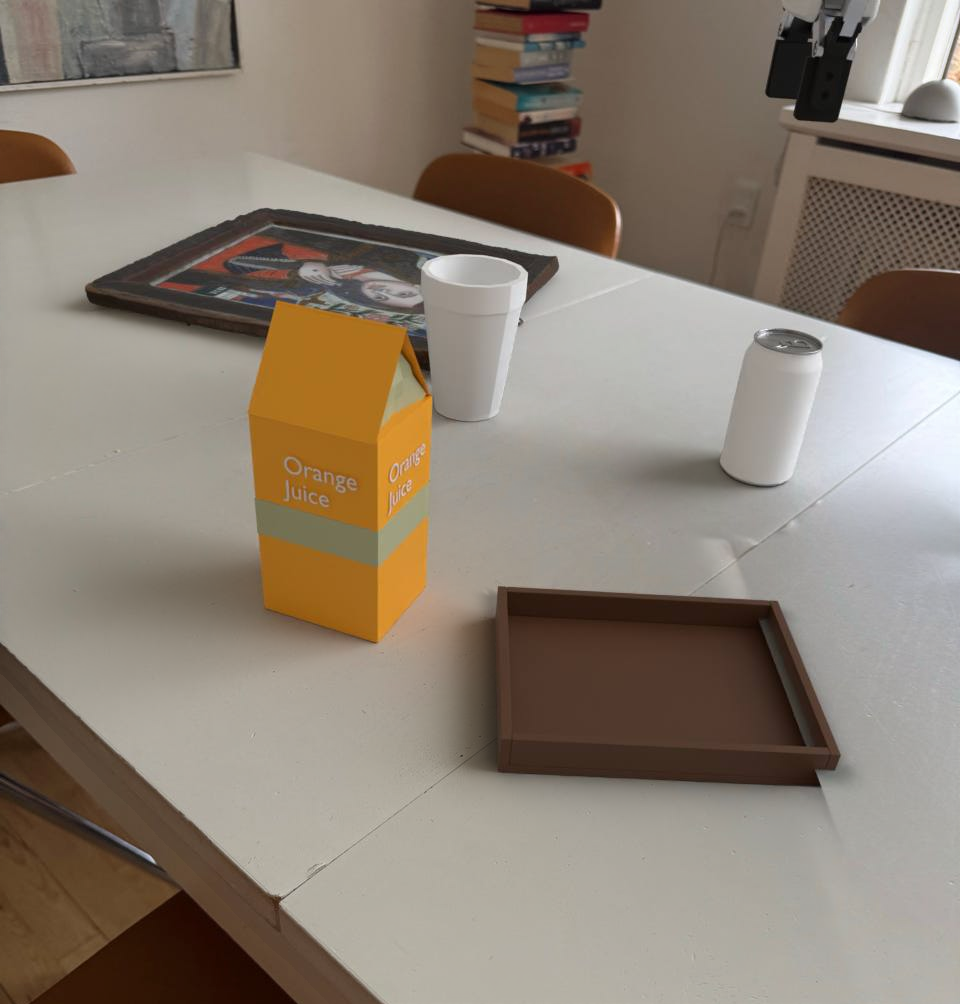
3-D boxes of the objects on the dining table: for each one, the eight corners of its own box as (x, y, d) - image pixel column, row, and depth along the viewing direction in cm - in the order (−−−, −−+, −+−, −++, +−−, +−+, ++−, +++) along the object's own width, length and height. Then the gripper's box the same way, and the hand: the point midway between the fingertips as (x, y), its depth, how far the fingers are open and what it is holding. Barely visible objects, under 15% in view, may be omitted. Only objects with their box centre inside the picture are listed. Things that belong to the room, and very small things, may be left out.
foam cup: (457, 379, 102) (464, 248, 94) (533, 406, 98) (547, 270, 90) (398, 408, 95) (400, 269, 88) (477, 437, 91) (486, 295, 84)
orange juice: (319, 554, 74) (308, 282, 62) (427, 586, 72) (437, 308, 60) (262, 609, 68) (237, 319, 56) (377, 645, 66) (377, 350, 54)
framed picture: (466, 387, 100) (468, 357, 98) (83, 312, 110) (78, 284, 108) (568, 276, 131) (570, 252, 129) (261, 225, 141) (259, 202, 139)
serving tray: (768, 630, 70) (777, 600, 68) (828, 787, 58) (841, 754, 56) (495, 616, 69) (497, 585, 68) (497, 772, 57) (501, 738, 56)
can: (710, 454, 92) (738, 325, 84) (777, 454, 92) (811, 326, 85) (731, 488, 87) (763, 354, 79) (802, 488, 87) (841, 355, 80)
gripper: (967, -180, 60) (880, 134, 70) (880, -168, 74) (818, 93, 84) (843, -190, 60) (774, 127, 70) (779, -176, 73) (729, 87, 84)
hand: (798, 108), depth 77 cm, fingers open, 9 cm apart
